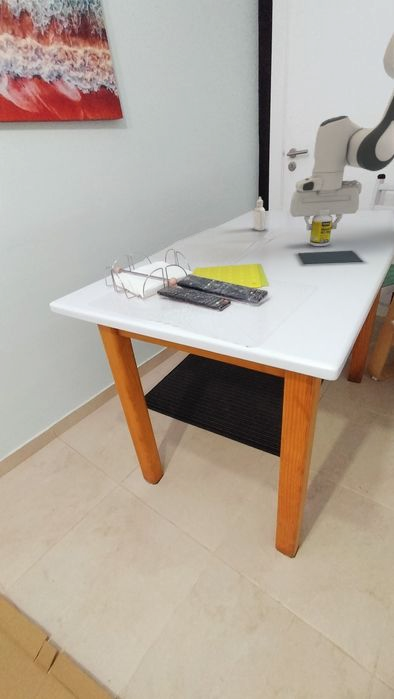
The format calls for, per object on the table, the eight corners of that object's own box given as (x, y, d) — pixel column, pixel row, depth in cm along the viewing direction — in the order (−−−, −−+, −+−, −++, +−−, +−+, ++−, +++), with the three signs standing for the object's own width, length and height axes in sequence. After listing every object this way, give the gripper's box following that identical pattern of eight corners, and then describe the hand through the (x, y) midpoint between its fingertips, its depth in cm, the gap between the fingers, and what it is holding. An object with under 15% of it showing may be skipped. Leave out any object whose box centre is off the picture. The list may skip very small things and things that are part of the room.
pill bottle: (320, 247, 108) (324, 211, 102) (305, 244, 112) (308, 208, 106) (333, 243, 110) (338, 207, 104) (318, 240, 115) (322, 205, 109)
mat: (351, 251, 103) (352, 250, 103) (362, 261, 95) (362, 261, 95) (298, 253, 105) (298, 253, 105) (304, 264, 97) (304, 263, 97)
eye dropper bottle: (253, 231, 133) (253, 198, 126) (253, 227, 137) (254, 196, 131) (264, 230, 132) (265, 197, 126) (264, 227, 137) (265, 195, 130)
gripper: (359, 178, 103) (351, 225, 110) (290, 183, 105) (287, 228, 112) (366, 180, 97) (357, 230, 105) (293, 185, 100) (290, 233, 107)
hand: (321, 229), depth 109 cm, fingers closed on pill bottle, 6 cm apart
